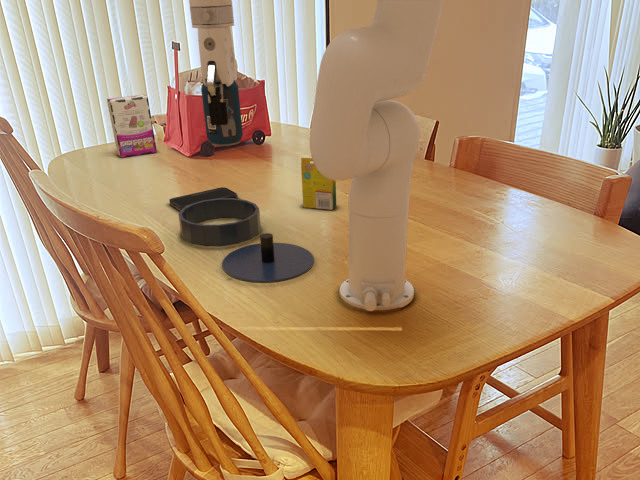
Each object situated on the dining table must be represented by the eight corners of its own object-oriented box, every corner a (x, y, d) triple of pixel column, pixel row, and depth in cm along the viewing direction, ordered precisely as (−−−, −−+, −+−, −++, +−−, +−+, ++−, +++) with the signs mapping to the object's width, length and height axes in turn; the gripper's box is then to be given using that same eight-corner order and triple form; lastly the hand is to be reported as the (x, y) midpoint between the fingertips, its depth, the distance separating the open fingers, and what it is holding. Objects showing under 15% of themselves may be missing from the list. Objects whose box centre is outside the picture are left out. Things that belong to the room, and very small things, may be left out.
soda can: (224, 137, 127) (217, 73, 121) (250, 140, 123) (244, 75, 118) (200, 144, 122) (191, 79, 116) (227, 148, 119) (220, 81, 113)
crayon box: (336, 206, 146) (336, 156, 140) (332, 210, 144) (331, 159, 138) (307, 203, 148) (305, 154, 142) (302, 207, 146) (300, 157, 140)
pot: (254, 248, 126) (252, 225, 123) (173, 248, 127) (170, 225, 124) (264, 219, 140) (263, 198, 137) (192, 219, 141) (189, 198, 138)
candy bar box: (152, 149, 195) (144, 93, 187) (157, 152, 191) (148, 96, 183) (116, 154, 190) (105, 98, 182) (120, 158, 186) (109, 100, 178)
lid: (311, 285, 111) (310, 254, 108) (214, 285, 112) (210, 254, 109) (316, 247, 126) (315, 218, 123) (231, 247, 127) (228, 218, 124)
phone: (239, 194, 151) (181, 207, 144) (239, 199, 152) (181, 212, 144) (224, 186, 157) (167, 198, 150) (224, 190, 157) (168, 203, 150)
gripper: (224, 20, 104) (235, 129, 113) (240, 13, 119) (249, 110, 128) (179, 22, 105) (194, 131, 113) (201, 15, 120) (212, 111, 128)
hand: (223, 119), depth 121 cm, fingers closed on soda can, 7 cm apart
